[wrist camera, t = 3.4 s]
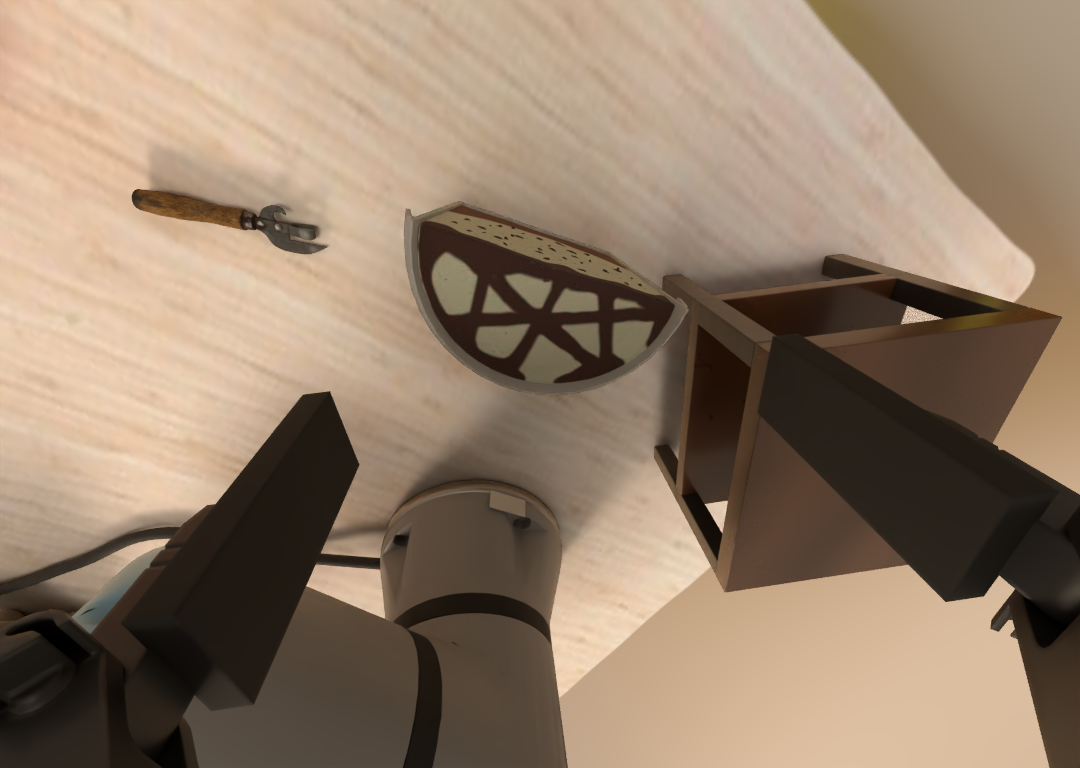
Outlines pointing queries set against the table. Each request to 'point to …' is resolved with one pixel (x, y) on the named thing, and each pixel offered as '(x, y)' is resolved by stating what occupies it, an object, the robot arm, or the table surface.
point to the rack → (861, 341)
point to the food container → (532, 302)
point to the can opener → (229, 218)
